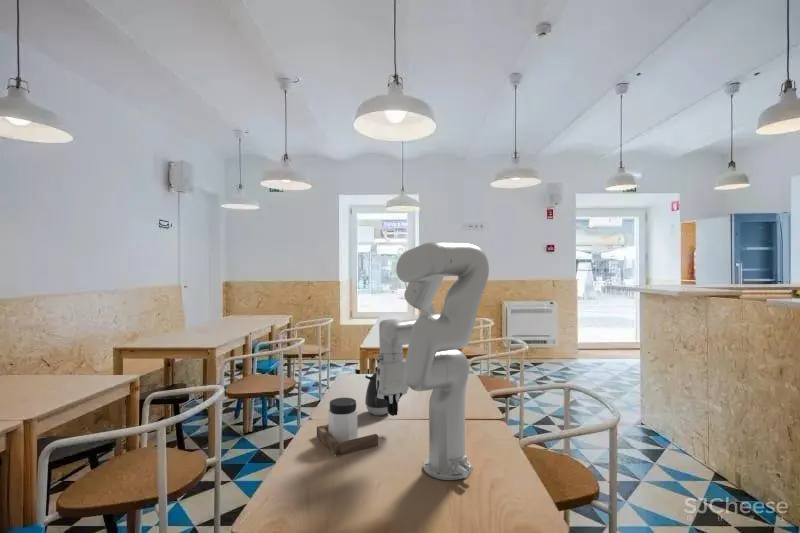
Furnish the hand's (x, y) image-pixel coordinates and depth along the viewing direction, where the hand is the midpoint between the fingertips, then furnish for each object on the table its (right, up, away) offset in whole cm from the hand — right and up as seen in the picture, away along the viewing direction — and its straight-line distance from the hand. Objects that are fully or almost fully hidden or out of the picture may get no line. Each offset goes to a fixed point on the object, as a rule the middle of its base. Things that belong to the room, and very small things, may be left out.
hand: (392, 414), depth 134 cm
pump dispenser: (-5, -6, +17) cm, 19 cm away
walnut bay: (-13, -6, -7) cm, 16 cm away
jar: (-15, -6, -7) cm, 18 cm away
